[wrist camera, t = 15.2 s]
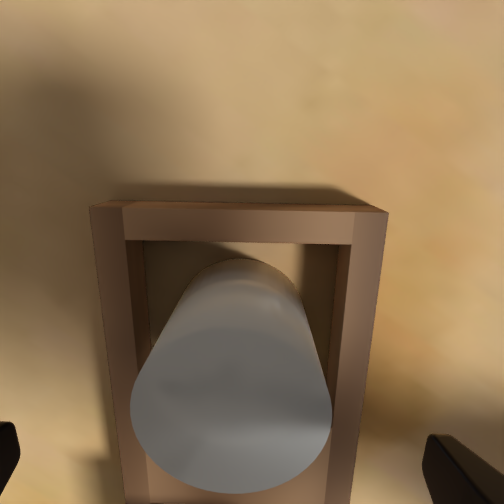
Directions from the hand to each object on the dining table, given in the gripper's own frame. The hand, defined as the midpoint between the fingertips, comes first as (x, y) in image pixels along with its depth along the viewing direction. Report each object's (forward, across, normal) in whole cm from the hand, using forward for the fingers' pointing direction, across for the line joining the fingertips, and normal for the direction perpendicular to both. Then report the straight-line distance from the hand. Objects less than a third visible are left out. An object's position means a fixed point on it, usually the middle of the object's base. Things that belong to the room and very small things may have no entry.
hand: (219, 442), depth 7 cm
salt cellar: (+6, 0, 0) cm, 6 cm away
